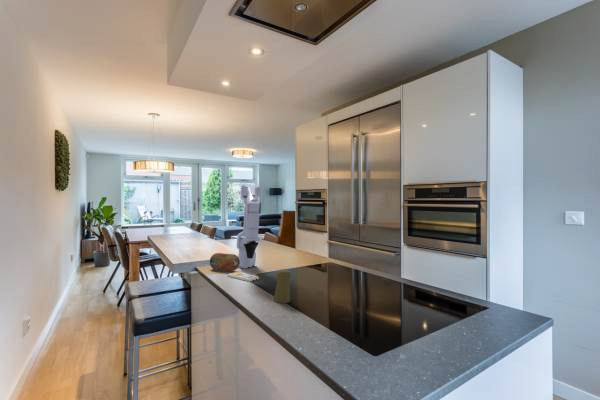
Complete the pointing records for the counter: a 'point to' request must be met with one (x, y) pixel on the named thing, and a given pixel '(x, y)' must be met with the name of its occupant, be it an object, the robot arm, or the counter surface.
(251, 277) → the label board
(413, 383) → the counter surface
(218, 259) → the tin
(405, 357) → the counter surface
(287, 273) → the olive green tapered cylinder
